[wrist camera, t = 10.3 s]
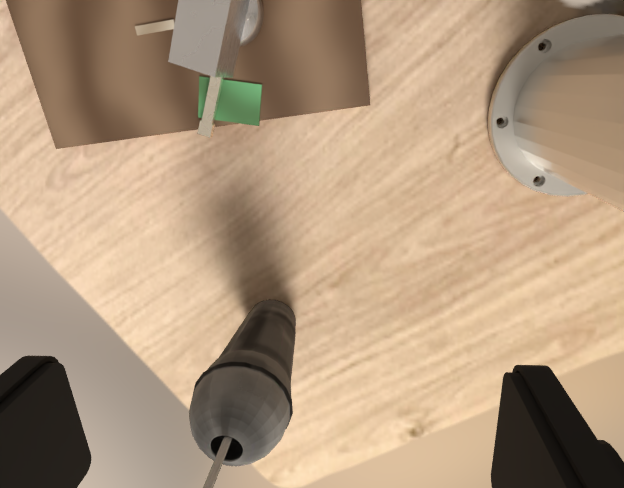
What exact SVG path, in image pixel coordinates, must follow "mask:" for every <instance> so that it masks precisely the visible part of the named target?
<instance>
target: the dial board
mask: <svg viewBox="0 0 624 488" xmlns="http://www.w3.org/2000/svg"><path fill="white" fill-rule="evenodd" d="M261 1H262V5H263V12H264V16H263V23H262V27H261V29H260V31H259V33H258V35H257V36H256V37H255V38H254V39H253V40H252V41H251V42H250V43H248V44H246V45H244V46H241V47H239V51H238V56H237V60H236V65H235V69H234V74H233V78H229V77H224V78H223V82H222V87H221V92H220V96H219V101H218V106H217V110H216V115H215V120H214V124H215V127H217V126H224V125H231V124H239V123H242V124H249V125H256V126H259V121H260V120H267V119H274V118H282V117H289V116H296V115H303V114H310V113H318V112H325V111H332V110H339V109H346V108H353V107H361V106H368V105H370V97H369V86H368V74H367V63H366V52H365V41H364V29H363V18H362V7H361V0H261ZM6 2H7V5H8V8H9V11H10V14H11V17H12V20H13V23H14V26H15V29H16V32H17V35H18V38H19V41H20V44H21V46H22V49H23V52H24V55H25V58H26V61H27V64H28V67H29V70H30V73H31V76H32V79H33V82H34V85H35V88H36V91H37V94H38V97H39V100H40V103H41V106H42V109H43V111H44V114H45V117H46V120H47V123H48V126H49V129H50V132H51V135H52V138H53V141H54V144H55V147H56V149H59V148H66V147H74V146H81V145H88V144H95V143H102V142H109V141H117V140H124V139H131V138H138V137H145V136H152V135H160V134H167V133H174V132H181V131H188V130H196V129H198V128H199V123H200V121H201V120H202V116H203V111H204V106H205V101H206V96H207V92H208V87H209V82H210V77H211V76H209V75H206V74H203V73H200V72H197V71H194V70H191V69H188V68H185V67H182V66H179V65H176V64H173V63H170V62H168V60H169V54H170V48H171V42H172V36H173V30H174V24H175V18H176V12H177V6H178V0H6Z"/></svg>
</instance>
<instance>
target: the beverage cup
mask: <svg viewBox="0 0 624 488" xmlns="http://www.w3.org/2000/svg"><path fill="white" fill-rule="evenodd" d="M295 326H296V319H295V316H294V313H293V311H292V310H291V309H290V308H289V307H288V306H287V305H285V304H284V303H282V302H279V301H276V300H266V301H262V302H260V303H258V304H257V305H255V306H254V308H253V309H252V310H251V312H250V313H249V314H248V315H247V317H246V318H245V319H244V321H243V322H242V324H241V325H240V327H239V328H238V330H237V331H236V333H235V334H234V336H233V337H232V339H231V340H230V342H229V343H228V345H227V346H226V348H225V349H224V351H223V352H222V354H221V355H220V357H219V358H218V359H217V360H216V361H215V362H214V363H213V364H212V365H211V366H210V367H209V368H208V370H207V371H205V372H203V374H202V375H201V376H200V378H199V379H198V380H197V382H196V384H195V388H194V392H193V396H192V401H191V405H190V410H189V419H190V426H191V431H192V435H193V437H194V439H195V441H196V443H197V445H198V446H199V448H200V449H201V450H202V451H203V452H204V453H205V454H206V455H207V456H208V457H209V458H211V459H212V460H214V463H213V465H212V467H211V470H210V472H209V475H208V477H207V480H206V482H205V484H204V487H203V488H213V486H214V484H215V481H216V479H217V476H218V473H219V471H220V469H221V466H222V464H223V465H229V466H242V465H248V464H251V463H253V462H255V461H257V460H259V459H261V458H263V457H265V456H266V455H267V454H269V453H270V451H271V450H272V449H273V448H274V447H275V446H276V445H277V444H278V442H279V441H280V440H281V438H282V436H283V434H284V432H285V429H286V428H287V426H288V425H289V422H290V419H291V416H292V414H293V411H292V399H291V374H292V364H293V354H294V344H295Z"/></svg>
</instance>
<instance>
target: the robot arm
mask: <svg viewBox="0 0 624 488" xmlns="http://www.w3.org/2000/svg"><path fill="white" fill-rule="evenodd" d="M540 43H542V44H543V49H542V50H541V51H539V49H538V46H539V44H540ZM498 118H502V122H501V124H499V125H498V124H497V123H496V121H497V119H498ZM488 131H489V138H490V143H491V146H492V148H493V151H494V154H495V156H496V158H497V159H498V161H499V162H500V164H501V165H502V167H503V168H504V169H505V170H506V171H507V172H508V173H509V174H510V175H511V176H512V177H513V178H514V179H515V180H517V181H518V182H520V183H521V184H523V185H524V186H526V187H528V188H530V189H532V190H534V191H536V192H540V193H544V194H548V195H552V196H566V197H569V196H579V195H586V194H590V195H592V196H594V197H596V198H598V199H600V200H602V201H604V202H606V203H608V204H610V205H611V206H613V207H615V208H617V209H619V210H621V211H623V212H624V16H620V15H613V14H595V15H586V16H582V17H578V18H574V19H571V20H568V21H565V22H562V23H559V24H557V25H554V26H553V27H551V28H549V29H547V30H545V31H544V32H542V33H540V34H538V35H537V36H536V37H535V38H533V39H532V40H531V41H530V42H528V43H527V44H526V45H525V46H523V47H522V48H521V49H520V51H519V52H518V53H517V54H516V55H515V56H514V57H513V58H512V59H511V60H510V62H509V63H508V65H507V66H506V68H505V70H504V71H503V73H502V74H501V76H500V77H499V80H498V82H497V84H496V87H495V89H494V91H493V94H492V98H491V102H490V107H489V113H488ZM536 176H538V179H537V181H535V182H533V180H534V178H535V177H536ZM90 464H91V454H90V450H89V447H88V443H87V440H86V437H85V434H84V431H83V427H82V424H81V420H80V417H79V414H78V411H77V408H76V404H75V401H74V397H73V394H72V391H71V388H70V385H69V381H68V378H67V375H66V371H65V368H64V366H63V365H62V364H60V363H59V362H58V360H57V359H56V358H55V357H52V356H25V357H22V358H21V359H19V360H18V361H17V362H16V363H14V364H13V365H12V366H11V367H10V368H8V369H7V370H6V371H5V372H3V373H2V374H1V375H0V488H77V487H78V485H79V484H80V482H81V481H82V480H83V478H84V476H85V475H86V474H87V472H88V470H89V467H90ZM491 483H492V488H624V462H623V461H622V459H621V458H620V456H619V455H618V453H617V452H616V451H615V450H614V448H613V447H612V446H611V445H610V444H609V443H607V442H606V441H604V440H597V438H596V437H595V435H594V434H593V432H592V431H591V429H590V428H589V426H588V424H587V423H586V421H585V420H584V418H583V417H582V415H581V414H580V412H579V411H578V410H577V408H576V406H575V405H574V403H573V402H572V400H571V399H570V397H569V396H568V394H567V393H566V391H565V390H564V388H563V387H562V385H561V384H560V382H559V381H558V379H557V378H556V376H555V375H554V373H553V371H552V370H551V369H550V368H549V367H548V366H540V365H516V366H515V367H514V369H513V372H512V373H508V372H506V373H505V374H504V377H503V383H502V391H501V399H500V407H499V415H498V423H497V432H496V440H495V447H494V455H493V462H492V470H491Z"/></svg>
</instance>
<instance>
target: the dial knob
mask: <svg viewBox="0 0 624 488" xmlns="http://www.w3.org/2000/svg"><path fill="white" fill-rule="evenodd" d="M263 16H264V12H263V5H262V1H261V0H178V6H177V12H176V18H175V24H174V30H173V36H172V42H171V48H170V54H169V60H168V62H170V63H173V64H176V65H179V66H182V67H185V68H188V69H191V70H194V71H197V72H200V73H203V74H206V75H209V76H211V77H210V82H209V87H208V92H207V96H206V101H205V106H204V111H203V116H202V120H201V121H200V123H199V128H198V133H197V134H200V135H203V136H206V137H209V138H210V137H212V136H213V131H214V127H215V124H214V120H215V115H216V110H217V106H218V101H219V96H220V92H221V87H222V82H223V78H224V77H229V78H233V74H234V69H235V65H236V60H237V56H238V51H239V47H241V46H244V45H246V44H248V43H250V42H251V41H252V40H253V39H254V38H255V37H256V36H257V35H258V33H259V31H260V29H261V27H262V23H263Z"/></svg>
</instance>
